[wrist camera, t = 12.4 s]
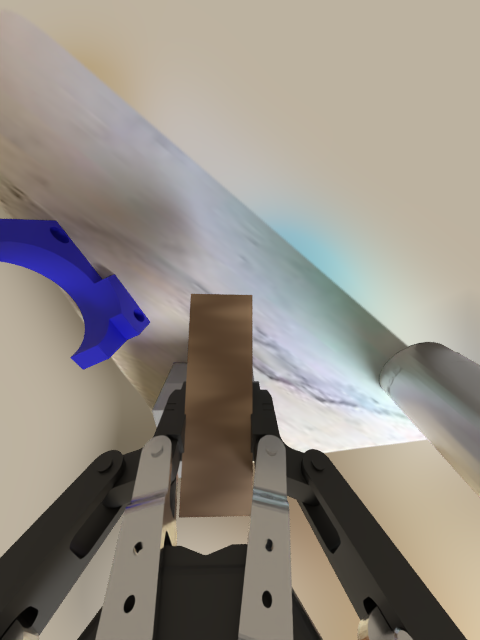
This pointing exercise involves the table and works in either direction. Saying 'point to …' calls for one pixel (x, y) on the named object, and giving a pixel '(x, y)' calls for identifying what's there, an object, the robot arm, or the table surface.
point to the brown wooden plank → (218, 408)
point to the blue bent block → (75, 285)
